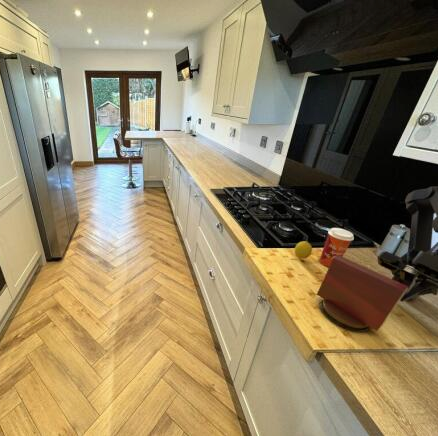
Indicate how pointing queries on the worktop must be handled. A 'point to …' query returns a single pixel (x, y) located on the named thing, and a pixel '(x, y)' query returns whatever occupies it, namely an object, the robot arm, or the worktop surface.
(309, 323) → the worktop surface
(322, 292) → the book stand
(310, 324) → the worktop surface
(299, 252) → the lemon
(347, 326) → the turntable base
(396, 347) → the worktop surface
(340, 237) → the paper cup
